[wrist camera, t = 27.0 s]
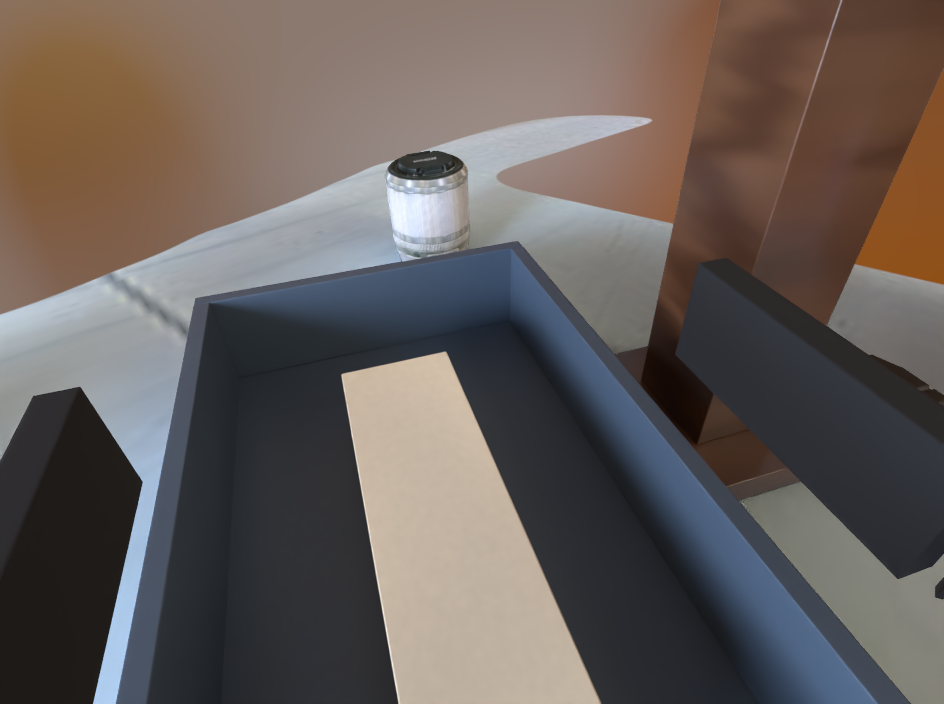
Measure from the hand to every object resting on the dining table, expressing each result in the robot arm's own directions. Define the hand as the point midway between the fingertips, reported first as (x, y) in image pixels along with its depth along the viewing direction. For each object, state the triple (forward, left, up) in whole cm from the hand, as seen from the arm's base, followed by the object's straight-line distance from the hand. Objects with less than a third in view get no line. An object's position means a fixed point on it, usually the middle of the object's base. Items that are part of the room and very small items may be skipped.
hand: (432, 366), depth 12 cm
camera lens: (-23, +21, -14) cm, 34 cm away
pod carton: (0, 0, -12) cm, 12 cm away
